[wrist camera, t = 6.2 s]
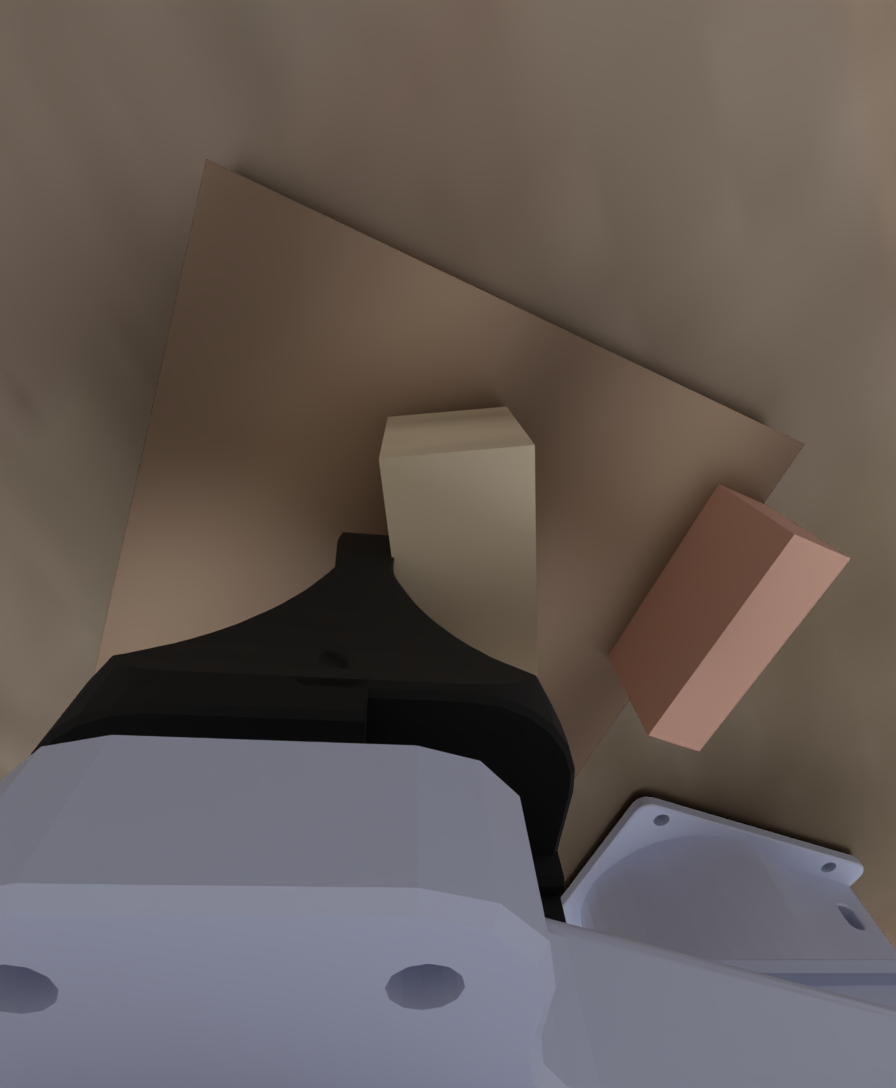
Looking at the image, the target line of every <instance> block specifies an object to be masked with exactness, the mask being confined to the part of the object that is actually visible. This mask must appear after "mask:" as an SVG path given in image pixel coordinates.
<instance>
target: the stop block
mask: <svg viewBox="0 0 896 1088" xmlns="http://www.w3.org/2000/svg"><path fill="white" fill-rule="evenodd" d="M850 559H851V558H849V557H847V556H846V555H844V554H843V553H841V552H839V551H838V550H836V549H835V548H833V547H832V546H830V545H828V544H827V543H825V542H824V541H822V540H821V539H819V538H817V537H816V536H814V535H813V534H811V533H809V532H808V531H806V530H805V529H803V528H802V527H800V526H798V525H797V524H795V523H794V522H792V521H791V520H789V519H787V518H786V517H784V516H783V515H781V514H779V513H778V512H776V511H775V510H773V509H772V508H770V507H768V506H767V505H765V504H763V503H761V502H758V501H756V500H754V499H752V498H749V497H747V496H745V495H743V494H740V493H738V492H736V491H733V490H731V489H729V488H727V487H724V486H722V485H720V484H718V486H717V487H716V489H715V491H714V492H713V494H712V495H711V497H710V498H709V500H708V501H707V503H706V505H705V506H704V508H703V509H702V511H701V512H700V514H699V515H698V517H697V519H696V520H695V522H694V523H693V525H692V526H691V528H690V529H689V531H688V532H687V534H686V536H685V537H684V539H683V540H682V542H681V543H680V545H679V546H678V548H677V550H676V551H675V553H674V554H673V556H672V557H671V559H670V560H669V562H668V563H667V565H666V567H665V568H664V570H663V571H662V573H661V574H660V576H659V577H658V579H657V581H656V582H655V584H654V585H653V587H652V588H651V590H650V591H649V593H648V594H647V596H646V598H645V599H644V601H643V602H642V604H641V605H640V607H639V608H638V610H637V612H636V613H635V615H634V616H633V618H632V619H631V621H630V622H629V624H628V625H627V627H626V629H625V630H624V632H623V633H622V635H621V636H620V638H619V639H618V641H617V643H616V644H615V646H614V647H613V649H612V650H611V652H610V653H609V655H608V658H609V660H610V662H611V664H612V666H613V668H614V670H615V672H616V674H617V675H618V677H619V679H620V681H621V683H622V685H623V687H624V689H625V691H626V693H627V695H628V697H629V699H630V701H631V703H632V705H633V707H634V709H635V711H636V713H637V714H638V716H639V718H640V720H641V722H642V724H643V726H644V728H645V730H646V732H647V734H648V736H652V737H655V738H658V739H661V740H664V741H667V742H670V743H674V744H677V745H680V746H683V747H686V748H689V749H692V750H696V751H700V750H701V749H702V747H703V746H704V745H705V743H706V742H707V741H708V740H709V738H710V737H711V736H712V735H713V733H714V732H715V731H716V729H717V728H718V727H719V726H720V724H721V723H722V722H723V721H724V719H725V718H726V717H727V715H728V714H729V713H730V712H731V710H732V709H733V708H734V707H735V705H736V704H737V703H738V701H739V700H740V699H741V698H742V696H743V695H744V694H745V693H746V691H747V690H748V689H749V687H750V686H751V685H752V684H753V682H754V681H755V680H756V679H757V677H758V676H759V675H760V673H761V672H762V671H763V670H764V668H765V667H766V666H767V665H768V663H769V662H770V661H771V659H772V658H773V657H774V656H775V654H776V653H777V652H778V650H779V649H780V648H781V647H782V645H783V644H784V643H785V642H786V640H787V639H788V638H789V636H790V635H791V634H792V633H793V631H794V630H795V629H796V628H797V626H798V625H799V624H800V622H801V621H802V620H803V619H804V617H805V616H806V615H807V614H808V612H809V611H810V610H811V608H812V607H813V606H814V605H815V603H816V602H817V601H818V600H819V598H820V597H821V596H822V594H823V593H824V592H825V591H826V589H827V588H828V587H829V586H830V584H831V583H832V582H833V580H834V579H835V578H836V577H837V575H838V574H839V573H840V571H841V570H842V569H843V568H844V566H845V565H846V564H847V563H848V561H849V560H850Z"/></svg>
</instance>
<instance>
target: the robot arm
mask: <svg viewBox="0 0 896 1088" xmlns="http://www.w3.org/2000/svg"><path fill="white" fill-rule="evenodd" d="M393 567H394V557H392V556H391V548H390V541H389V535H377V534H363V533H349V532H343V533H342V534H341V535H340V537H339V539H338V541H337V550H336V561H335V567H334V568H333V569H332V570H331V571H330V572H328V573H327V574H326V575H325V576H323V577H322V578H321V579H320V580H318V581H317V582H316V583H314V584H313V585H312V586H310V587H309V588H307V589H306V590H304V591H303V592H301V593H300V594H298V595H296V596H294V597H293V598H291V599H289V600H287V601H286V602H284V603H282V604H280V605H278V606H276V607H274V608H272V609H270V610H268V611H265V612H263V613H261V614H259V615H256V616H254V617H252V618H249V619H247V620H245V621H243V622H240V623H238V624H235V625H232V626H230V627H227V628H224V629H221V630H218V631H215V632H212V633H209V634H205V635H202V636H198V637H195V638H192V639H188V640H184V641H180V642H177V643H172V644H167V645H163V646H158V647H153V648H149V649H144V650H139V651H134V652H130V653H124V654H119V655H113V656H112V657H111V658H110V659H109V660H108V661H107V662H106V663H105V664H104V665H103V666H102V667H101V668H100V670H99V671H98V672H97V673H96V674H95V675H94V676H93V677H92V678H91V679H90V680H89V681H88V683H87V684H86V685H85V686H84V688H83V689H82V690H81V691H80V693H79V694H78V695H77V696H76V698H75V699H74V700H73V702H72V703H71V704H70V705H69V707H68V708H67V709H66V710H65V712H64V713H63V714H62V715H61V717H60V718H59V719H58V720H57V722H56V723H55V724H54V725H53V727H52V728H51V729H50V731H49V732H48V733H47V734H46V736H45V737H44V738H43V739H42V741H41V742H40V743H39V744H38V746H37V747H36V748H35V749H34V751H33V752H32V753H31V755H30V756H29V757H28V758H27V759H26V760H24V761H23V762H22V763H21V764H20V765H18V766H17V767H16V768H15V769H14V770H13V771H11V772H10V773H9V774H8V775H7V776H5V777H4V778H3V779H2V780H1V781H0V1088H896V951H895V949H894V948H893V946H892V945H891V944H890V942H889V941H888V939H887V938H886V937H885V935H884V934H883V933H882V931H881V930H880V928H879V927H878V926H877V924H876V923H875V921H874V920H873V919H872V917H871V916H870V914H869V913H868V912H867V910H866V909H865V907H864V906H863V905H862V903H861V902H860V900H859V899H858V898H857V896H856V895H855V894H854V892H853V891H852V889H851V888H850V886H851V885H852V884H853V883H854V882H855V881H856V880H857V879H858V878H859V877H860V876H861V875H862V874H863V870H864V868H863V866H862V865H861V863H860V862H859V861H858V859H857V858H856V857H854V856H852V855H848V854H845V853H842V852H838V851H835V850H831V849H828V848H824V847H821V846H818V845H814V844H811V843H807V842H804V841H801V840H797V839H794V838H790V837H787V836H783V835H780V834H777V833H773V832H770V831H766V830H763V829H759V828H756V827H753V826H749V825H746V824H742V823H739V822H736V821H732V820H729V819H725V818H722V817H718V816H715V815H712V814H708V813H705V812H701V811H698V810H695V809H691V808H688V807H684V806H681V805H677V804H674V803H671V802H667V801H664V800H660V799H657V798H653V797H647V796H646V797H641V798H639V799H637V800H635V801H634V802H633V803H632V804H631V806H630V807H629V808H628V810H627V811H626V812H625V813H624V815H623V816H622V817H621V819H620V820H619V821H618V823H617V824H616V825H615V827H614V828H613V829H612V831H611V832H610V833H609V835H608V836H607V837H606V839H605V840H604V841H603V842H602V844H601V845H600V846H599V848H598V849H597V850H596V852H595V853H594V854H593V856H592V857H591V858H590V860H589V861H588V862H587V864H586V865H585V866H584V867H583V869H582V870H581V871H580V873H579V874H578V875H577V877H576V878H575V879H574V881H573V882H572V883H571V885H570V886H569V887H568V889H567V890H566V891H565V892H564V894H563V895H562V896H561V898H560V894H562V892H563V889H564V875H563V871H562V867H561V863H560V859H559V856H558V852H557V849H558V846H559V842H560V838H561V834H562V831H563V827H564V823H565V819H566V816H567V812H568V808H569V805H570V801H571V797H572V793H573V786H574V775H575V767H574V763H573V760H572V756H571V752H570V748H569V745H568V741H567V738H566V735H565V733H564V730H563V727H562V725H561V723H560V720H559V718H558V716H557V714H556V712H555V710H554V708H553V706H552V704H551V702H550V700H549V698H548V696H547V695H546V693H545V691H544V689H543V687H542V685H541V683H540V681H539V679H538V678H537V676H536V675H534V674H531V673H529V672H526V671H524V670H521V669H519V668H516V667H514V666H511V665H509V664H506V663H504V662H502V661H499V660H497V659H494V658H492V657H490V656H488V655H486V654H484V653H483V652H481V651H479V650H477V649H475V648H473V647H471V646H470V645H468V644H466V643H465V642H463V641H461V640H460V639H458V638H457V637H455V636H453V635H452V634H451V633H449V632H448V631H447V630H445V629H444V628H443V627H441V626H440V625H438V624H437V623H436V622H435V621H433V620H432V619H431V618H430V617H429V616H428V615H426V614H425V613H424V612H423V611H422V610H421V609H420V608H419V607H418V606H417V605H416V604H415V602H414V601H413V600H412V599H411V598H410V596H409V595H408V594H407V593H406V591H405V590H404V589H403V587H402V586H401V584H400V583H399V582H398V580H397V579H396V577H395V575H394V571H393Z"/></svg>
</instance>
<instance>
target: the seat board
mask: <svg viewBox="0 0 896 1088" xmlns="http://www.w3.org/2000/svg"><path fill="white" fill-rule="evenodd" d="M496 407H507V408H508V409H509V410H510V412H511V413H512V415H513V416H514V417H515V419H516V420H517V421H518V423H519V424H520V425H521V427H522V428H523V430H524V431H525V432H526V434H527V435H528V436H529V438H530V439H531V440H532V442H533V443H534V445H535V505H536V595H537V678H538V679H539V681H540V683H541V685H542V687H543V689H544V691H545V693H546V695H547V696H548V698H549V700H550V702H551V704H552V706H553V708H554V710H555V712H556V714H557V716H558V718H559V720H560V723H561V725H562V727H563V730H564V733H565V735H566V738H567V741H568V745H569V748H570V752H571V756H572V760H573V763H574V767H575V775H574V779H575V777H576V776H577V774H578V773H579V771H580V770H581V768H582V767H583V766H584V764H585V763H586V761H587V760H588V758H589V757H590V755H591V754H592V752H593V751H594V750H595V748H596V747H597V745H598V744H599V742H600V741H601V739H602V738H603V736H604V735H605V734H606V732H607V731H608V729H609V728H610V726H611V725H612V723H613V722H614V720H615V719H616V718H617V716H618V715H619V713H620V712H621V710H622V709H623V707H624V706H625V704H626V703H627V702H628V700H629V697H628V695H627V693H626V691H625V689H624V687H623V685H622V683H621V681H620V679H619V677H618V675H617V674H616V672H615V670H614V668H613V666H612V664H611V662H610V660H609V658H608V655H609V653H610V652H611V650H612V649H613V647H614V646H615V644H616V643H617V641H618V639H619V638H620V636H621V635H622V633H623V632H624V630H625V629H626V627H627V625H628V624H629V622H630V621H631V619H632V618H633V616H634V615H635V613H636V612H637V610H638V608H639V607H640V605H641V604H642V602H643V601H644V599H645V598H646V596H647V594H648V593H649V591H650V590H651V588H652V587H653V585H654V584H655V582H656V581H657V579H658V577H659V576H660V574H661V573H662V571H663V570H664V568H665V567H666V565H667V563H668V562H669V560H670V559H671V557H672V556H673V554H674V553H675V551H676V550H677V548H678V546H679V545H680V543H681V542H682V540H683V539H684V537H685V536H686V534H687V532H688V531H689V529H690V528H691V526H692V525H693V523H694V522H695V520H696V519H697V517H698V515H699V514H700V512H701V511H702V509H703V508H704V506H705V505H706V503H707V501H708V500H709V498H710V497H711V495H712V494H713V492H714V491H715V489H716V487H717V486H718V484H720V485H722V486H724V487H727V488H729V489H731V490H733V491H736V492H738V493H740V494H743V495H745V496H747V497H749V498H752V499H754V500H756V501H758V502H761V503H763V504H764V502H765V501H766V500H767V498H768V497H769V495H770V494H771V492H772V491H773V489H774V488H775V486H776V485H777V484H778V482H779V481H780V479H781V478H782V476H783V475H784V473H785V472H786V470H787V469H788V468H789V466H790V465H791V463H792V462H793V460H794V459H795V457H796V456H797V454H798V453H799V452H800V450H801V449H802V447H803V446H804V444H803V443H801V442H799V441H797V440H795V439H793V438H791V437H789V436H787V435H784V434H782V433H780V432H778V431H776V430H774V429H772V428H770V427H768V426H766V425H763V424H761V423H759V422H757V421H755V420H753V419H751V418H749V417H747V416H745V415H742V414H740V413H738V412H736V411H734V410H732V409H730V408H728V407H726V406H724V405H721V404H719V403H717V402H715V401H713V400H711V399H709V398H707V397H705V396H703V395H701V394H698V393H696V392H694V391H692V390H690V389H688V388H686V387H684V386H682V385H680V384H677V383H675V382H673V381H671V380H669V379H667V378H665V377H663V376H661V375H659V374H656V373H654V372H652V371H650V370H648V369H646V368H644V367H642V366H640V365H638V364H635V363H633V362H631V361H629V360H627V359H625V358H623V357H621V356H619V355H617V354H615V353H612V352H610V351H608V350H606V349H604V348H602V347H600V346H598V345H596V344H594V343H591V342H589V341H587V340H585V339H583V338H581V337H579V336H577V335H575V334H573V333H570V332H568V331H566V330H564V329H562V328H560V327H558V326H556V325H554V324H552V323H549V322H547V321H545V320H543V319H541V318H539V317H537V316H535V315H533V314H531V313H528V312H526V311H524V310H522V309H520V308H518V307H516V306H514V305H512V304H510V303H508V302H505V301H503V300H501V299H499V298H497V297H495V296H493V295H491V294H489V293H487V292H484V291H482V290H480V289H478V288H476V287H474V286H472V285H470V284H468V283H466V282H463V281H461V280H459V279H457V278H455V277H453V276H451V275H449V274H447V273H445V272H442V271H440V270H438V269H436V268H434V267H432V266H430V265H428V264H426V263H424V262H422V261H419V260H417V259H415V258H413V257H411V256H409V255H407V254H405V253H403V252H401V251H398V250H396V249H394V248H392V247H390V246H388V245H386V244H384V243H382V242H380V241H377V240H375V239H373V238H371V237H369V236H367V235H365V234H363V233H361V232H359V231H356V230H354V229H352V228H350V227H348V226H346V225H344V224H342V223H340V222H338V221H336V220H333V219H331V218H329V217H327V216H325V215H323V214H321V213H319V212H317V211H315V210H312V209H310V208H308V207H306V206H304V205H302V204H300V203H298V202H296V201H294V200H291V199H289V198H287V197H285V196H283V195H281V194H279V193H277V192H275V191H273V190H270V189H268V188H266V187H264V186H262V185H260V184H258V183H256V182H254V181H252V180H250V179H247V178H245V177H243V176H241V175H239V174H237V173H235V172H233V171H231V170H229V169H226V168H224V167H222V166H220V165H218V164H216V163H214V162H212V161H210V160H208V159H206V162H205V167H204V172H203V176H202V181H201V185H200V190H199V195H198V199H197V204H196V208H195V213H194V218H193V222H192V227H191V231H190V236H189V241H188V245H187V250H186V254H185V259H184V264H183V268H182V273H181V277H180V282H179V287H178V291H177V296H176V300H175V305H174V310H173V314H172V319H171V323H170V328H169V333H168V337H167V342H166V346H165V351H164V356H163V360H162V365H161V369H160V374H159V379H158V383H157V388H156V392H155V397H154V402H153V406H152V411H151V415H150V420H149V425H148V429H147V434H146V438H145V443H144V448H143V452H142V457H141V462H140V466H139V471H138V475H137V480H136V485H135V489H134V494H133V498H132V503H131V508H130V512H129V517H128V521H127V526H126V531H125V535H124V540H123V544H122V549H121V554H120V558H119V563H118V567H117V572H116V577H115V581H114V586H113V590H112V595H111V600H110V604H109V609H108V613H107V618H106V623H105V627H104V632H103V636H102V641H101V646H100V650H99V655H98V659H97V664H96V669H95V673H94V675H95V674H96V673H97V672H98V671H99V670H100V668H101V667H102V666H103V665H104V664H105V663H106V662H107V661H108V660H109V659H110V658H111V657H112V656H113V655H119V654H124V653H130V652H134V651H139V650H144V649H149V648H153V647H158V646H163V645H167V644H172V643H177V642H180V641H184V640H188V639H192V638H195V637H198V636H202V635H205V634H209V633H212V632H215V631H218V630H221V629H224V628H227V627H230V626H232V625H235V624H238V623H240V622H243V621H245V620H247V619H249V618H252V617H254V616H256V615H259V614H261V613H263V612H265V611H268V610H270V609H272V608H274V607H276V606H278V605H280V604H282V603H284V602H286V601H287V600H289V599H291V598H293V597H294V596H296V595H298V594H300V593H301V592H303V591H304V590H306V589H307V588H309V587H310V586H312V585H313V584H314V583H316V582H317V581H318V580H320V579H321V578H322V577H323V576H325V575H326V574H327V573H328V572H330V571H331V570H332V569H333V568H334V567H335V561H336V550H337V541H338V539H339V537H340V535H341V534H342V533H343V532H349V533H363V534H377V535H389V533H388V526H387V518H386V510H385V503H384V495H383V487H382V480H381V472H380V464H379V455H380V451H381V446H382V441H383V437H384V432H385V428H386V423H387V418H388V417H392V416H403V415H415V414H426V413H438V412H449V411H461V410H473V409H484V408H496Z"/></svg>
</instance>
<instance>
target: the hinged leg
mask: <svg viewBox="0 0 896 1088" xmlns="http://www.w3.org/2000/svg"><path fill="white" fill-rule="evenodd" d="M379 464H380V472H381V480H382V487H383V495H384V503H385V510H386V518H387V526H388V533H389V541H390V548H391V556H392V557H394V567H393V571H394V575H395V577H396V579H397V580H398V582H399V583H400V584H401V586H402V587H403V589H404V590H405V591H406V593H407V594H408V595H409V596H410V598H411V599H412V600H413V601H414V602H415V604H416V605H417V606H418V607H419V608H420V609H421V610H422V611H423V612H424V613H425V614H426V615H428V616H429V617H430V618H431V619H432V620H433V621H435V622H436V623H437V624H438V625H440V626H441V627H443V628H444V629H445V630H447V631H448V632H449V633H451V634H452V635H453V636H455V637H457V638H458V639H460V640H461V641H463V642H465V643H466V644H468V645H470V646H471V647H473V648H475V649H477V650H479V651H481V652H483V653H484V654H486V655H488V656H490V657H492V658H494V659H497V660H499V661H502V662H504V663H506V664H509V665H511V666H514V667H516V668H519V669H521V670H524V671H526V672H529V673H531V674H534V675H536V676H537V595H536V505H535V445H534V443H533V442H532V440H531V439H530V438H529V436H528V435H527V434H526V432H525V431H524V430H523V428H522V427H521V425H520V424H519V423H518V421H517V420H516V419H515V417H514V416H513V415H512V413H511V412H510V410H509V409H508V408H507V407H496V408H484V409H473V410H461V411H449V412H438V413H426V414H415V415H403V416H392V417H388V418H387V423H386V428H385V432H384V437H383V441H382V446H381V451H380V455H379Z"/></svg>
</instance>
